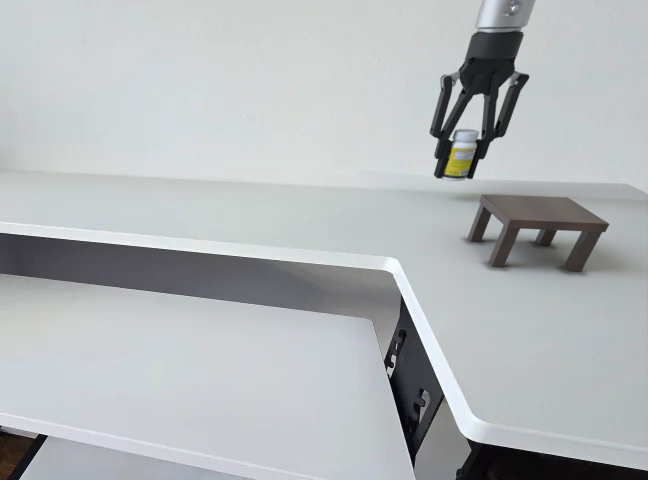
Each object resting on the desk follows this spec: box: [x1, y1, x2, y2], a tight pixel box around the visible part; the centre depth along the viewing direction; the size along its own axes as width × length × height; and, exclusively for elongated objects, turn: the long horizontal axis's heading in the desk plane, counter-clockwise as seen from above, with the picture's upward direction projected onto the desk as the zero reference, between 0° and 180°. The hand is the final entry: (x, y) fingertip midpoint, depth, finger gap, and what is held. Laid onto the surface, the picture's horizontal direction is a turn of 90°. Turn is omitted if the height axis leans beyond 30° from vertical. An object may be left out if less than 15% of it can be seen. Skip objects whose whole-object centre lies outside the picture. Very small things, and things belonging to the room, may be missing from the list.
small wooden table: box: [467, 193, 610, 272], centre depth 73 cm, size 12×12×7 cm
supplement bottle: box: [441, 128, 480, 182], centre depth 93 cm, size 5×5×8 cm
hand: (452, 176), depth 95 cm, fingers closed on supplement bottle, 5 cm apart
